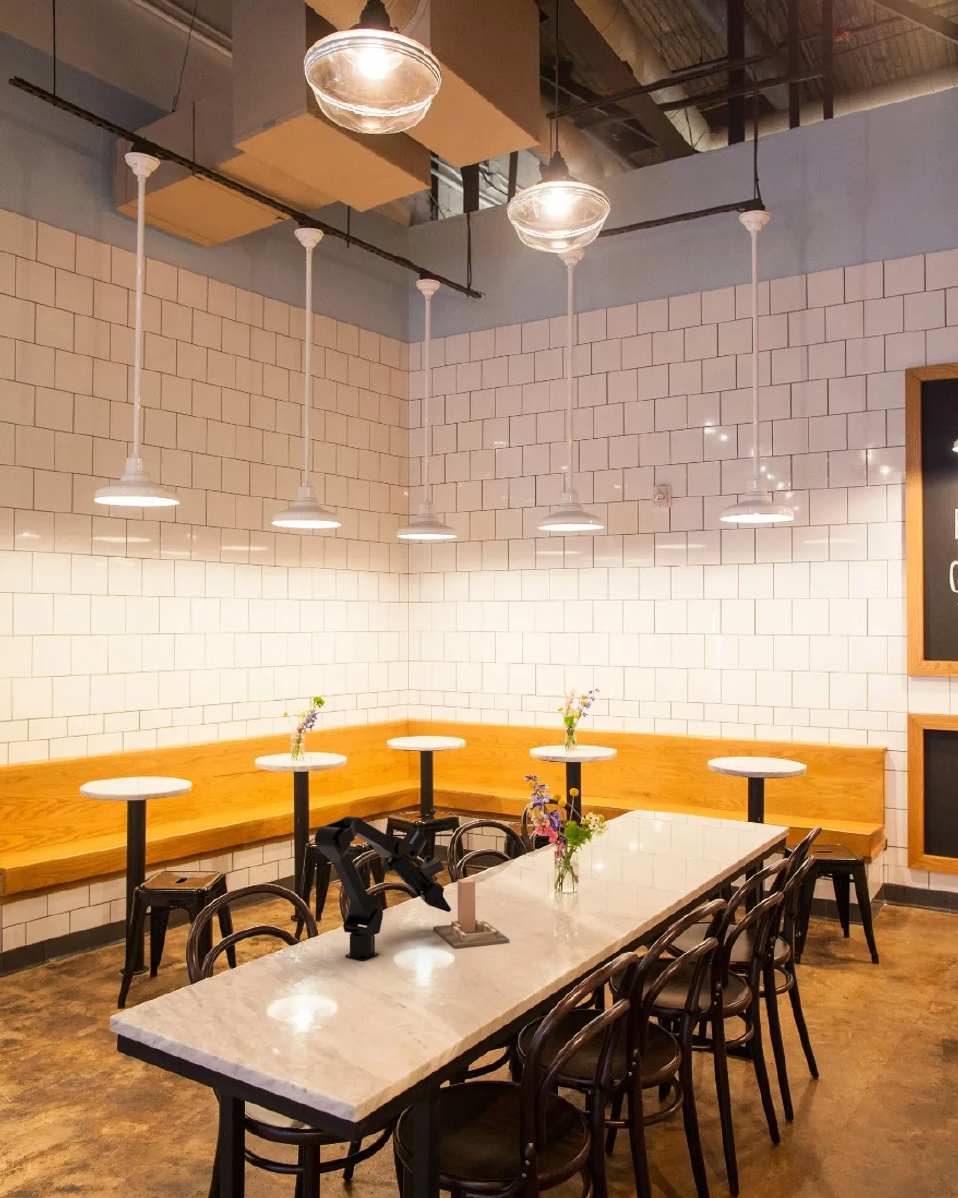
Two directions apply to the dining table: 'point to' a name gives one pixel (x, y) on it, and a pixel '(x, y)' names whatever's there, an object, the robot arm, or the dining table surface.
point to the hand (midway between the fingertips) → (445, 907)
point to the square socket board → (470, 935)
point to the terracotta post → (466, 904)
